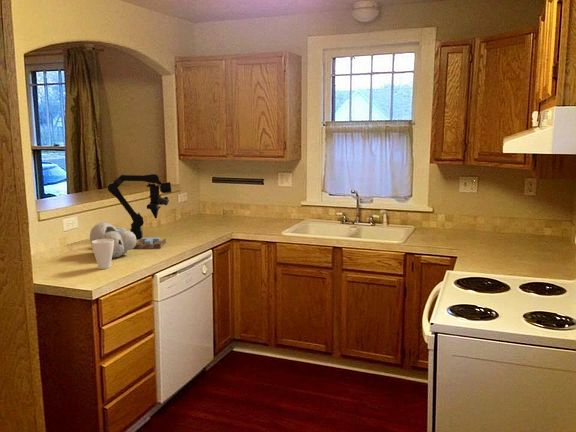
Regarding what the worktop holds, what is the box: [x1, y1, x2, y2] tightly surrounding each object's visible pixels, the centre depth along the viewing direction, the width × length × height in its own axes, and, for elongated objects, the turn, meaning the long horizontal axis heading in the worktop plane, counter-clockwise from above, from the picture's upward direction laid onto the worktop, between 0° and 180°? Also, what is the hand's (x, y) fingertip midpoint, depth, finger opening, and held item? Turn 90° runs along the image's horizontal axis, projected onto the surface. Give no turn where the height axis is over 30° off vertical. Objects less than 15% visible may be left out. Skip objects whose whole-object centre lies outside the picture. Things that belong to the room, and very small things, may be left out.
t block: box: [141, 236, 161, 244], centre depth 308 cm, size 10×10×4 cm
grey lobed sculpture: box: [89, 221, 138, 259], centre depth 286 cm, size 20×25×22 cm
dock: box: [133, 238, 167, 250], centre depth 308 cm, size 15×15×2 cm
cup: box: [90, 239, 114, 270], centre depth 259 cm, size 10×10×14 cm
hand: (155, 218), depth 333 cm, fingers closed
